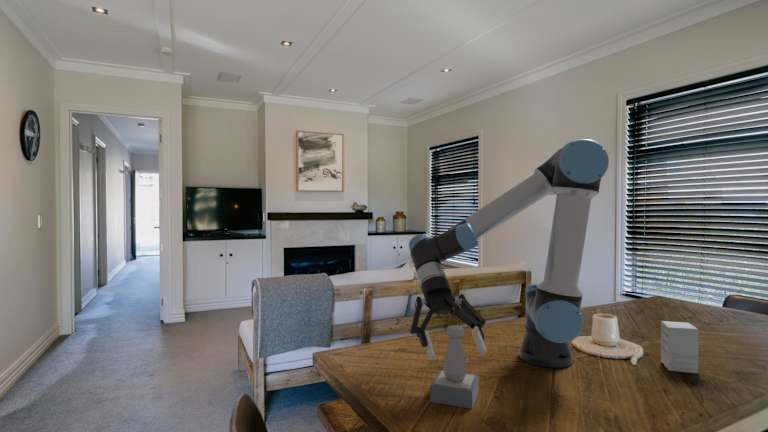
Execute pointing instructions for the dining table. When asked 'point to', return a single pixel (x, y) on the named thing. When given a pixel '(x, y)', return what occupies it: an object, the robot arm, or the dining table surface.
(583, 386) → the dining table surface
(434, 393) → the slate plinth
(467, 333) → the dining table surface
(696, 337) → the supplement box
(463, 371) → the salt shaker
